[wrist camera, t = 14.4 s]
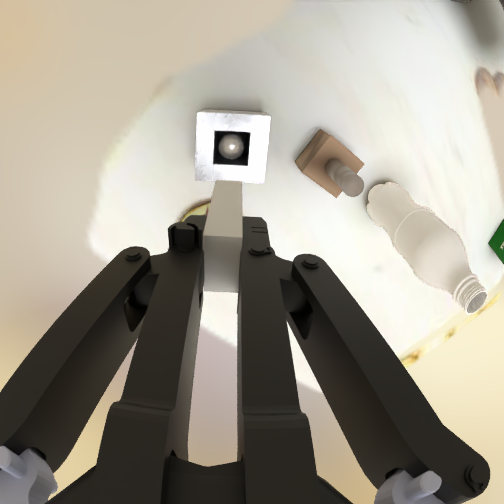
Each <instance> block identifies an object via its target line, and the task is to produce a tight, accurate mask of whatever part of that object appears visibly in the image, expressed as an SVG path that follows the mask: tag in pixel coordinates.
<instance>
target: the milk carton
mask: <svg viewBox="0 0 504 504" xmlns="http://www.w3.org/2000/svg"><path fill="white" fill-rule="evenodd" d="M488 244H489V245H490V246H491V248H492V249H493V250H494V252H495V253H496V255H497V256H498V257H499V259H500V260H501V261H502V263H503V264H504V220H503V221H502V223H501V225H500V226H499V228H498V229H497V231H496V232H495V234H494V236H493V237H492V239H491V240H490V242H489V243H488Z"/></svg>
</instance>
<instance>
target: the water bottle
mask: <svg viewBox="0 0 504 504" xmlns="http://www.w3.org/2000/svg"><path fill="white" fill-rule="evenodd" d="M368 200H369V203H367V212H368V214H369V216H370V218H371V220H372V221H373V222H374V223H375V224H376V225H377V226H379V227H382V228H383V229H384V230H385V231H386V232H387V233H388V235H389V237H390V239H391V241H392V244H393V246H394V248H395V249H396V250H397V252H398V253H399V254H400V255H402V256H403V258H404V259H405V260H406V262H407V263H408V264H409V265H410V267H411V268H412V269H413V272H414V274H415V275H416V276H417V277H418V278H419V279H420V280H421V281H422V282H423V283H425V284H427V285H429V286H432V287H435V288H438V289H442V290H445V291H447V292H449V293H451V294H452V295H453V300H454V301H455V302H457V303H458V304H459V305H461V306H462V308H463V309H464V310H465V312H466V313H467V314H472V313H475V312H476V311H478V310H479V309H480V308H481V307H482V306H483V304H484V303H485V301H486V299H487V292H486V290H485V289H484V287H483V286H482V285H481V284H480V281H479V279H478V277H477V275H475V274H472V272H471V270H470V268H469V264H468V258H467V254H466V250H465V246H464V244H463V241H462V239H461V238H460V236H459V235H458V234H457V232H456V231H454V230H453V229H451V228H450V227H449V226H447V225H446V224H445V223H444V222H443V221H442V220H441V219H440V218H438V217H437V216H436V214H435V213H434V212H433V211H432V210H431V209H429V208H428V207H422V206H419V205H417V204H416V203H415V202H414V201H413V200H412V198H411V197H410V195H409V193H408V192H407V191H406V190H405V189H404V188H403V187H401V186H400V185H398V184H396V183H392V182H386V183H385V185H384V184H378V185H376V186H374V187H373V188H372V189H371V190H370V192H369V195H368Z"/></svg>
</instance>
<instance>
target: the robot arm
mask: <svg viewBox="0 0 504 504" xmlns="http://www.w3.org/2000/svg"><path fill="white" fill-rule="evenodd" d="M452 1H455V2H466V1H471V0H452ZM499 1H500V3H501V5H502V7H503V9H504V0H499ZM168 237H169V249H168V252H166V253H163V254H159V255H153V256H150V253H149V251H148V250H147V249H146V248H143V247H137V246H134V247H129V248H127V249H124V250H123V251H121V252H120V253H119V254H118V255H117V256H116V257H115V258H114V259H113V260H112V261H111V262H110V263H109V264H108V265H107V266H106V267H105V268H104V269H103V270H102V271H101V272H100V273H99V274H98V275H97V276H96V277H95V278H94V279H93V280H92V281H91V282H90V283H89V285H88V286H87V287H86V288H85V289H84V290H83V291H82V292H81V293H80V294H79V295H78V296H77V298H76V299H75V300H74V301H73V302H72V303H71V304H70V305H69V307H67V309H66V310H65V311H64V312H63V313H62V314H61V316H60V317H59V318H58V319H57V320H56V321H55V322H54V324H53V325H52V326H51V327H50V328H49V329H48V331H47V332H46V333H45V334H44V335H43V337H42V338H41V339H40V340H39V342H38V343H37V344H36V345H35V347H34V348H33V349H32V350H31V352H30V353H29V354H28V356H27V357H26V358H25V359H24V360H23V362H22V363H21V364H20V366H19V367H18V368H17V370H16V371H15V372H14V374H13V375H12V377H11V378H10V379H9V381H8V382H7V383H6V385H5V386H4V388H3V389H2V391H1V392H0V504H353V503H352V502H350V501H349V500H348V499H347V498H346V497H344V496H343V495H342V494H341V493H340V492H338V491H337V490H336V489H335V488H334V487H333V486H331V485H330V484H329V483H328V482H327V481H326V480H324V479H323V478H321V477H320V476H318V475H317V471H316V465H315V458H314V450H313V444H312V438H311V430H310V425H309V421H308V418H307V416H306V414H305V413H302V412H301V410H300V405H299V399H298V392H297V385H296V378H295V371H294V365H293V359H292V352H291V346H290V340H289V333H288V327H287V322H288V324H289V326H290V328H291V330H292V332H293V334H294V336H295V338H296V340H297V342H298V344H299V346H300V348H301V350H302V352H303V354H304V356H305V358H306V360H307V362H308V364H309V366H310V367H311V369H312V371H313V373H314V375H315V377H316V379H317V381H318V383H319V385H320V387H321V389H322V391H323V393H324V395H325V397H326V399H327V401H328V403H329V405H330V407H331V409H332V411H333V413H334V415H335V417H336V419H337V421H338V423H339V425H340V427H341V429H342V431H343V433H344V435H345V437H346V439H347V441H348V443H349V445H350V447H351V449H352V451H353V453H354V455H355V457H356V459H357V461H358V463H359V465H360V467H361V468H362V470H363V472H364V473H365V475H366V476H367V477H368V479H369V480H370V482H371V483H372V484H373V485H374V486H375V487H376V488H377V489H378V491H377V494H376V496H375V501H374V504H461V503H464V502H466V501H468V500H470V499H473V498H475V497H477V496H478V495H480V494H481V493H483V491H484V490H485V489H486V488H487V486H488V483H489V480H490V468H489V465H488V463H487V462H486V460H485V459H484V458H483V457H482V456H481V455H480V454H478V453H477V452H476V451H474V450H473V449H472V448H471V447H469V446H468V445H467V444H466V443H465V442H463V441H462V440H461V439H460V438H459V437H457V436H456V435H455V434H454V433H453V432H451V431H450V430H449V429H448V428H447V427H445V426H444V425H443V424H442V423H441V421H440V420H439V418H438V416H437V415H436V413H435V412H434V410H433V409H432V407H431V406H430V404H429V403H428V401H427V400H426V398H425V397H424V395H423V394H422V392H421V391H420V389H419V388H418V386H417V385H416V383H415V382H414V380H413V379H412V377H411V376H410V375H409V373H408V372H407V370H406V369H405V367H404V366H403V364H402V363H401V362H400V360H399V359H398V357H397V356H396V355H395V353H394V352H393V350H392V349H391V348H390V346H389V345H388V343H387V342H386V341H385V339H384V338H383V337H382V335H381V334H380V332H379V331H378V330H377V328H376V327H375V326H374V324H373V323H372V322H371V320H370V319H369V318H368V316H367V315H366V314H365V312H364V311H363V310H362V308H361V307H360V306H359V304H358V303H357V302H356V300H355V299H354V298H353V297H352V295H351V294H350V293H349V291H348V290H347V289H346V287H345V286H344V285H343V284H342V282H341V281H340V280H339V278H338V277H337V276H336V275H335V273H334V272H333V271H332V270H331V268H330V267H329V266H328V265H327V263H326V262H325V261H324V260H323V259H322V258H320V257H318V256H316V255H312V254H301V255H298V256H296V257H295V258H294V261H293V262H292V261H288V260H284V259H281V258H279V257H277V256H276V255H275V252H274V250H273V248H272V247H270V241H269V235H268V229H267V224H266V222H265V221H264V220H263V219H262V218H261V217H244V216H242V181H227V180H216V183H215V187H214V191H213V195H212V199H211V203H210V207H209V211H208V215H190V216H188V217H187V218H186V219H185V220H184V222H178V223H174V224H172V225H171V226H170V227H169V228H168ZM203 286H204V291H213V292H233V293H238V304H237V314H238V331H237V413H238V414H237V418H238V419H237V420H238V421H237V425H238V426H237V427H238V428H237V429H238V451H237V462H232V463H227V464H222V465H216V466H210V467H206V466H201V465H198V464H195V463H192V462H189V461H188V446H187V445H188V443H187V442H188V430H189V419H190V408H191V398H192V387H193V377H194V368H195V359H196V351H197V343H198V335H199V327H200V319H201V312H202V304H203ZM286 320H287V321H286ZM137 338H138V340H137ZM136 340H137V343H136V347H135V350H134V354H133V357H132V361H131V364H130V368H129V371H128V375H127V379H126V382H125V386H124V390H123V394H122V397H121V399H120V401H117V402H114V403H113V404H112V405H111V406H110V409H109V412H108V414H107V419H106V423H105V427H104V431H103V436H102V440H101V444H100V449H99V454H98V458H97V464H96V465H95V466H94V467H92V468H91V469H90V470H88V471H87V472H86V473H85V474H83V475H82V476H81V477H79V478H78V479H77V480H75V481H74V482H73V483H72V484H70V485H69V486H68V487H66V488H65V489H64V490H63V491H61V492H60V493H58V494H57V495H56V496H54V497H53V498H51V499H50V500H49V501H48V498H49V496H50V494H52V493H55V492H56V491H57V488H58V486H57V482H56V481H55V479H54V475H53V473H54V472H55V471H56V470H57V469H58V468H59V467H60V466H61V465H62V463H63V462H64V461H65V460H66V458H67V457H68V455H69V454H70V452H71V450H72V449H73V447H74V445H75V443H76V442H77V440H78V438H79V436H80V434H81V432H82V431H83V429H84V427H85V425H86V424H87V422H88V420H89V418H90V416H91V414H92V413H93V411H94V409H95V408H96V406H97V404H98V403H99V401H100V399H101V397H102V396H103V394H104V392H105V391H106V389H107V387H108V386H109V384H110V382H111V381H112V379H113V377H114V375H115V374H116V372H117V371H118V369H119V367H120V365H121V364H122V362H123V361H124V359H125V357H126V356H127V354H128V353H129V351H130V349H131V348H132V346H133V345H134V343H135V342H136Z"/></svg>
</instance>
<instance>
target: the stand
mask: <svg viewBox="0 0 504 504" xmlns="http://www.w3.org/2000/svg"><path fill="white" fill-rule="evenodd" d="M295 163H296V165H297V166H298V168H299V169H300V171H301V172H302V173H303V174H305V175H306V176H308V177H309V178H310V179H312V180H313V181H314V182H316V183H317V184H318V185H320V186H321V187H322V188H324V189H325V190H326V191H328V192H329V193H330V194H332V195H333V196H334V197H336V198H337V197H338V196H339V194H340V193H341V192H342V191H344V193H345V194H346V195H348V196H350V197H355V196H358V195H359V194H360V193H361V192H362V191H363V188H364V182H363V180H362V179H361V178H360V177H359V176H358V175H357V173H358V171H359V170H360V169H361V168H362V166H363V165H364V163H363V162H362V161H361V160H360V159H359V158H357V157H356V156H355V155H354V154H353V153H352V152H351V151H349V150H348V149H347V148H346V147H345V146H343V145H342V144H341V143H340V142H339V141H337V140H336V139H335V138H334V137H333V136H331V135H330V134H328V133H326V132H324V131H323V130H321V129H320V130H319V131H318V133H317V134H316V135H315V137H314V138H313V139H312V140H311V142H310V143H309V144H308V146H307V147H306V148H305V149H304V151H303V152H302V153H301V154H300V156H299V157H298V158H297V160H296V161H295Z"/></svg>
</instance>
